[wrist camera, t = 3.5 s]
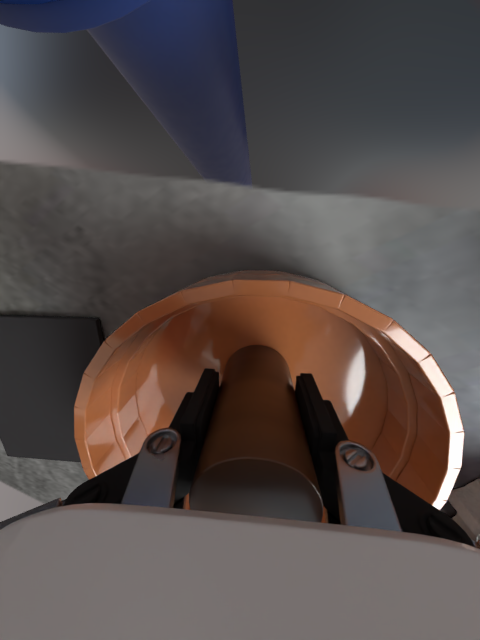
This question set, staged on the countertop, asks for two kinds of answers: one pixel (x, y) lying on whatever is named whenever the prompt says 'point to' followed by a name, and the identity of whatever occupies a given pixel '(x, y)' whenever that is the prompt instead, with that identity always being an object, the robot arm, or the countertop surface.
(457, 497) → the egg carton
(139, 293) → the countertop surface
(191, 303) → the pan
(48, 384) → the mat
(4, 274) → the countertop surface
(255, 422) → the walnut cylinder
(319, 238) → the countertop surface
